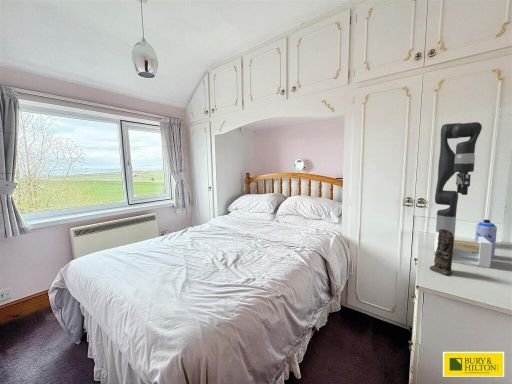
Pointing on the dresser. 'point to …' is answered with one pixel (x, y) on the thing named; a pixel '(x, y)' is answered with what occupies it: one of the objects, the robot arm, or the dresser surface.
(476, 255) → the cabinet bay
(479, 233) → the aerosol can
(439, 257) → the statue
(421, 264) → the dresser surface
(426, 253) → the dresser surface
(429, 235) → the dresser surface
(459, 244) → the shelf board
